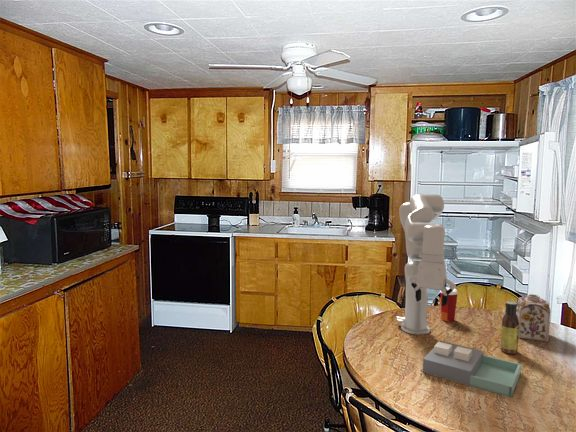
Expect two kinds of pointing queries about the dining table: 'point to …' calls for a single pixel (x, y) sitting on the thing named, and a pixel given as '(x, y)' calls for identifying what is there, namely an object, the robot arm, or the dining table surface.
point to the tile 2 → (462, 353)
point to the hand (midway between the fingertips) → (431, 302)
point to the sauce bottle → (510, 329)
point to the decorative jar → (533, 318)
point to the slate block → (453, 365)
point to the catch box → (497, 376)
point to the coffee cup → (449, 306)
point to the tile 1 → (443, 348)
